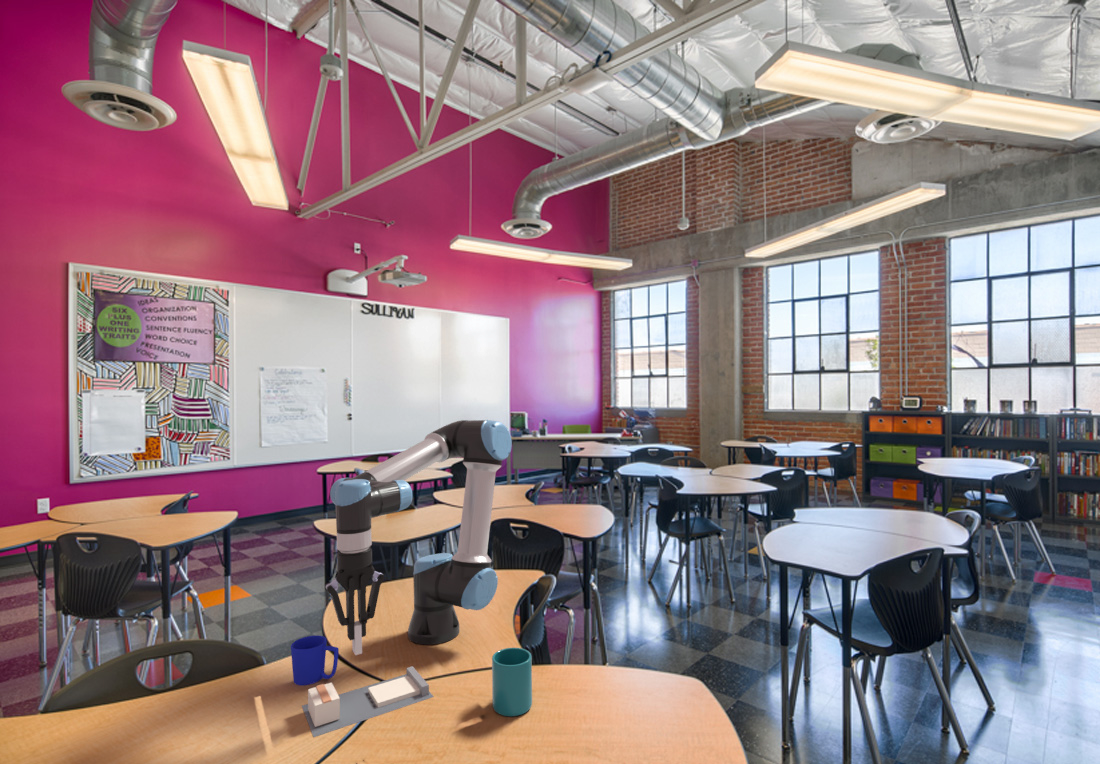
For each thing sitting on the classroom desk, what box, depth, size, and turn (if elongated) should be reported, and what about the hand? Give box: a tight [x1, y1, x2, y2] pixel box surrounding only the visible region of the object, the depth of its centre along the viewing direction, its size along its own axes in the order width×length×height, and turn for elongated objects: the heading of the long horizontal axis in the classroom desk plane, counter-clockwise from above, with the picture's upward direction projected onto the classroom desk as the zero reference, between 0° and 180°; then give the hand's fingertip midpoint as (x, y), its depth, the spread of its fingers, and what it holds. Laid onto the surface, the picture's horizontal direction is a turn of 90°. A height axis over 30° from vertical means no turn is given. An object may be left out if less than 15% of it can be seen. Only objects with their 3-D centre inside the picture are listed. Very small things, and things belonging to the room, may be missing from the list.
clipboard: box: [301, 665, 434, 738], centre depth 123 cm, size 26×14×3 cm, turn 124°
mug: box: [290, 635, 340, 686], centre depth 134 cm, size 8×12×10 cm
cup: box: [491, 647, 533, 717], centre depth 124 cm, size 9×12×11 cm
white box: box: [307, 682, 340, 727], centre depth 118 cm, size 5×8×5 cm, turn 34°
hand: (357, 651), depth 122 cm, fingers closed
